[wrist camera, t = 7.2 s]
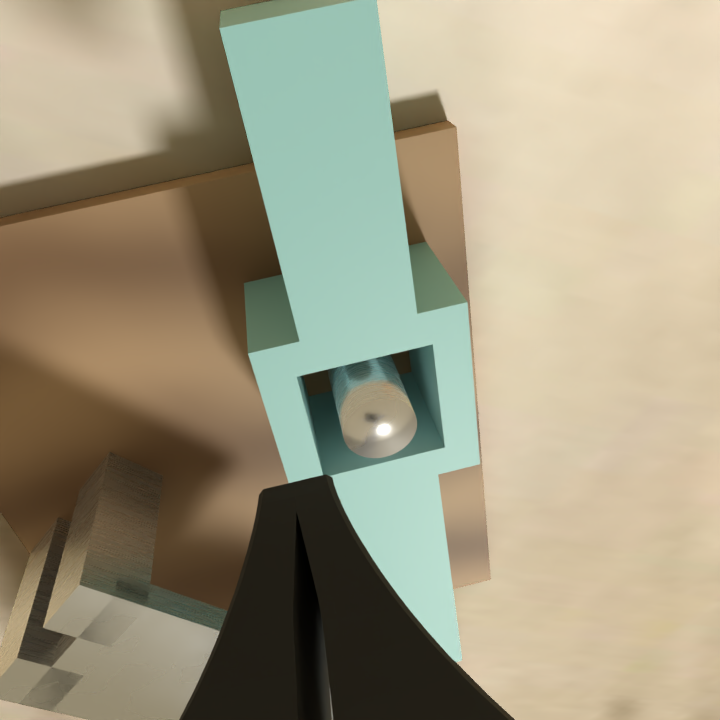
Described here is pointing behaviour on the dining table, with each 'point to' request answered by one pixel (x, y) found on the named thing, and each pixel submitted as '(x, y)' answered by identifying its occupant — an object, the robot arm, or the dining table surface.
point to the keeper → (105, 612)
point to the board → (181, 359)
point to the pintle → (373, 407)
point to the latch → (350, 285)
